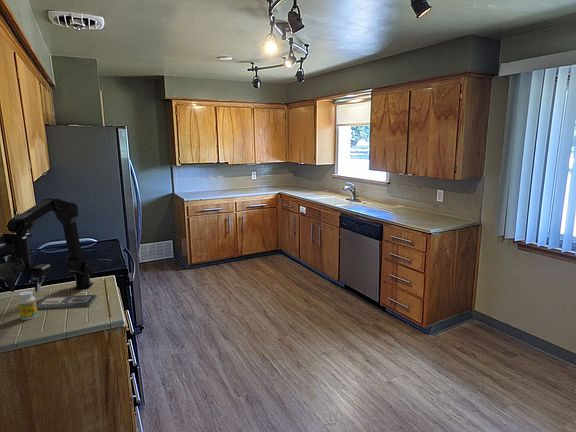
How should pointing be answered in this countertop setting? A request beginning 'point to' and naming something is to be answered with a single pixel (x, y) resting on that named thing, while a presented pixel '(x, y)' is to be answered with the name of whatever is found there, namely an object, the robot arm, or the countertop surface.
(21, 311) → the supplement bottle
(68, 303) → the panel
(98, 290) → the countertop surface
